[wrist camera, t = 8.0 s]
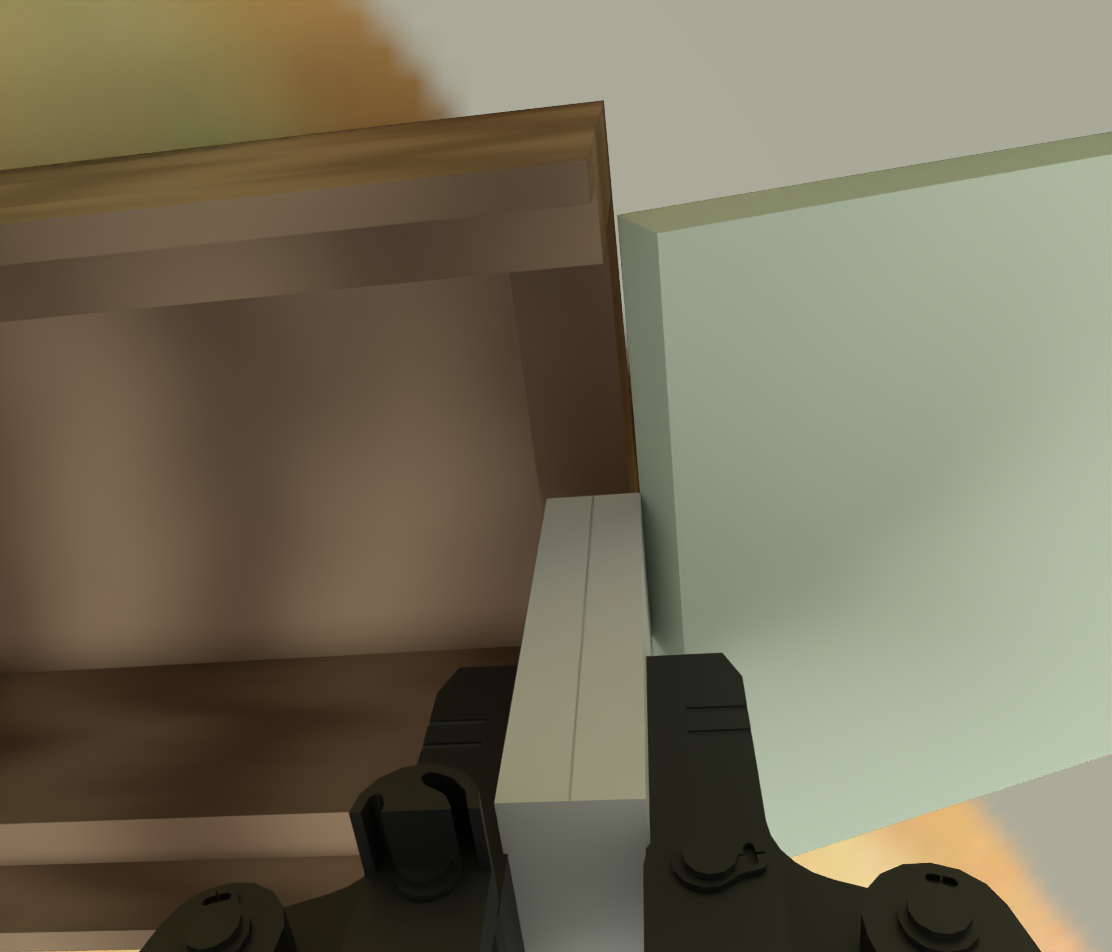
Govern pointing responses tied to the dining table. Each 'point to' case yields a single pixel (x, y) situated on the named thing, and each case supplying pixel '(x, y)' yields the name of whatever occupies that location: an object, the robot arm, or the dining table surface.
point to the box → (277, 486)
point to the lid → (886, 472)
